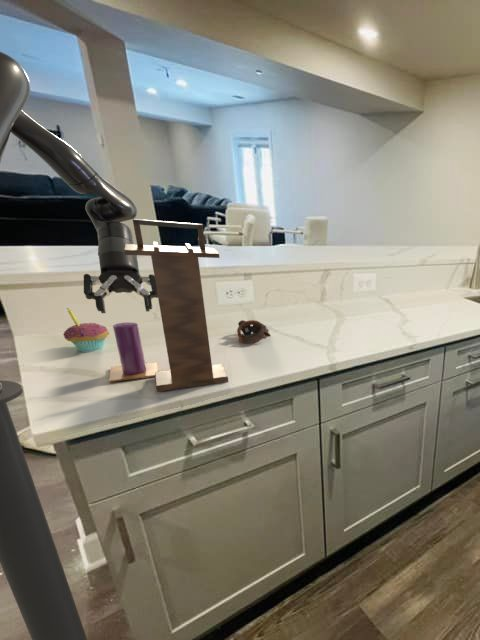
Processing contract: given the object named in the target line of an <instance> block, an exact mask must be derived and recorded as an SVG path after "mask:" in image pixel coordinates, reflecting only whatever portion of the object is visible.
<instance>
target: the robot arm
mask: <svg viewBox="0 0 480 640" xmlns="http://www.w3.org/2000/svg"><path fill="white" fill-rule="evenodd" d="M30 94H31V83H30V79H29V76H28V74H27V72H26V71H25V69H24V68H23V67H22V66H21V64H20V63H19V62H18V61H17V60H16V59H14V58H13V57H12V56H10V55H8V54H7V53H5V52H2V51H0V163H1V162H2V159H3V156H4V152H5V150H6V147H7V144H8V142H9V138H10V135H11V134H12V135H14V136H15V137H16V138H17V139H19V140H20V141H21V142H22V143H23V144H25V145H26V146H27V147H28V148H29V149H31V150H32V151H33V152H34V154H36V155H37V156H38V157H39V158H40V159H41V160H42V161H44V163H46V164H47V165H48V166H49V167H50V169H52V170H53V171H54V172H55V174H57V175H58V177H60V179H62V180H63V181H64V183H66V184H67V185H68V187H70V189H72V190H73V192H76V193H78V194H81V195H94V196H95V195H96V196H97V197H94V198H90V199H89V200H88V201H86V203H85V208H84V209H85V212H86V214H87V215H88V217H89V219H90V221H91V222H92V224H93V226H94V229H95V230H96V233H97V241H98V242H97V243H98V246H97V256H98V259H99V260H98V261H99V267H100V270H99V271H100V275H97V276H96V275H95V276H94V275H91V274H89V273H84V274H83V294H84V295H85V298H86V299H87V300H95V307H96V310H97V311H98V312H100V313H101V314H106V313H107V311H106V304H105V298H106V297H110V295H111V294H112V293H114V294H120V293H128V294H129V293H131V294H132V293H133V292H134V293H135V294H137V295H139V296H140V297H142V298H143V301H144V308H145V312H150V310H152V309H153V302H152V299H155V298H156V299H158V294H157V288H156V282H155V276H154V274H149V275H148V276H142V275H141V274H140V269H139V262H138V255H125V251H124V249H125V244H135V243H134V238H133V237H134V236H133V232H132V229H131V228H130V227H129V226H128V225H126V224H125V223H123V222H127V221H132V220H133V219H136V218H137V216H138V209H137V205H136V204H135V203H134V202H133V201H132V200H131V198H129V196H127V195H126V194H125V193H124V192H122V191H121V190H120V189H118V188H117V187H115V186H114V185H112V184H111V183H110V182H108V181H107V180H106V179H105V178H103V177H102V176H101V175H100V174H99V173H98V172H97V171H96V170H95V169H94V167H93V166H92V165H91V164H90V163H89V162H88V161H87V160H86V159H85V158H84V157H83V156H82V155H81V153H79V152H78V151H77V150H76V149H74V148H73V146H71V145H70V144H68V143H67V142H66V141H64V140H63V139H61V138H59V137H58V136H57V135H55V134H54V133H52V132H50V131H49V130H47V129H46V128H45V127H44V126H42V125H41V124H39V123H38V122H37V121H36V120H34V119H33V118H32V117H31V116H30V115H28V114H27V113H26V112H25V111H24V110H23V108H24V107H25V105H26V104H27V102H28V100H29V98H30ZM98 282H99V283H101V285H100V286H99V288H98V289H97V290H96V291H94V289H93V288H94V286H96V284H98ZM143 282H144V283H146V285H148V286H150V288H151V290H150V291H148V290H147V289H146V288H144V286H143V285H142V284H143ZM2 391H3V387H2V384H0V392H2Z"/></svg>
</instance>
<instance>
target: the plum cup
mask: <svg viewBox="0 0 480 640" xmlns="http://www.w3.org/2000/svg"><path fill="white" fill-rule="evenodd" d="M112 328H113V332H114V337H115V341H116V342H115V343H116V346H117V351H118V356H119V360H120V363H121V365H120V366H122V370H123V373H124V374H139V373H143V372H145V371H146V365H145V363H146V361H145V359H146V358H145V354H144V349H143V344H142V339H141V333H140V329H139V324H138V323H136V322H119V323H118V322H117V323H115V324H113V325H112Z"/></svg>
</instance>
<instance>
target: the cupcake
mask: <svg viewBox="0 0 480 640" xmlns="http://www.w3.org/2000/svg"><path fill="white" fill-rule="evenodd" d="M66 310H67V312H68V314H69V316H70V318H71V320H72V321H73V323H74V325H71V326H69V327H68V328H67V329H65V330H64V332H63V333H62V335H63V337H64V339H65V340H66V341H68V342H71V343H72V344H73V346H75V347H76V349H77V350H78V351H79V352H82V353H89V352H96V351H99V350H102V349H103V348H104V344H105V340H106V339H107V337H109V335H110V331H109V330H108V328H107V327H106V326H104V325H102V324H99V323H95V322H87V323H86V322H83V323H79V321H78V320H77V318H76V316H75V314H74V312H73V311H72V310H70V309H69V307H66Z"/></svg>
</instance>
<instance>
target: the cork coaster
mask: <svg viewBox="0 0 480 640" xmlns="http://www.w3.org/2000/svg"><path fill="white" fill-rule="evenodd" d="M145 365H146V371H145V372H143V373H139V374H124V373H123V370H122V365H116V366H110V368H109V369H110V370H109V377H108V382H109V383H111V382H119V381H120V382H121V381H128V380H137V379H145V378H153V377H154V378H156V377H155V372H157V371H159V367H158V362H157V361H156V362H147V363H146V362H145Z"/></svg>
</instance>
